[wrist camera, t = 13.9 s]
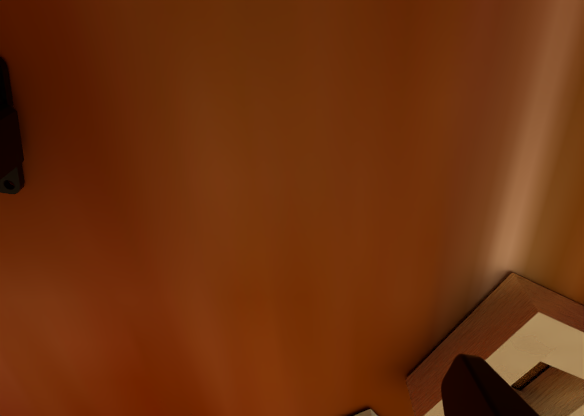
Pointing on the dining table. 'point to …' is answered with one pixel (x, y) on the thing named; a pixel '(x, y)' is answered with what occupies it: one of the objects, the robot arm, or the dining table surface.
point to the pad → (366, 413)
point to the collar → (514, 349)
